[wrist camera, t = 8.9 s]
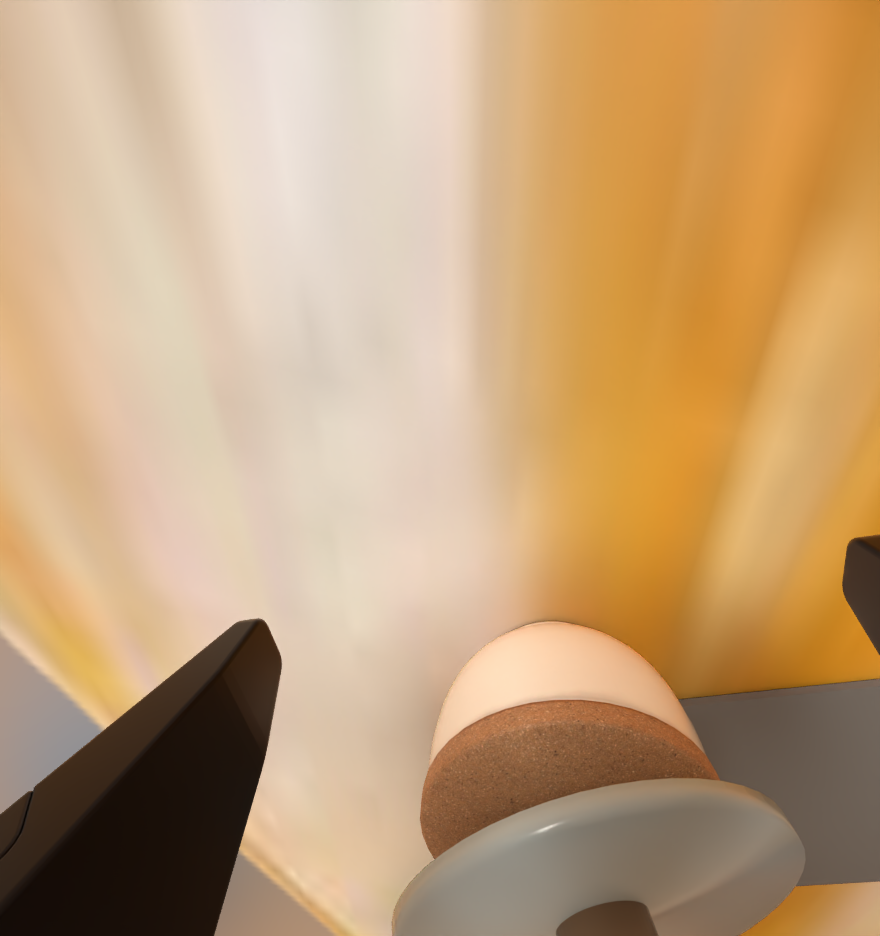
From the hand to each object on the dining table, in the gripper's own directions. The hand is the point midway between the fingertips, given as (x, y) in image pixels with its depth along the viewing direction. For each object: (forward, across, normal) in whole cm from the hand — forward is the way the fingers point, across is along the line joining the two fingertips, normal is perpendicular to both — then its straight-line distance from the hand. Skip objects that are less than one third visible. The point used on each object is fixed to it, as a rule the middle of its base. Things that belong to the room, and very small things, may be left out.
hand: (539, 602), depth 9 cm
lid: (+3, 0, +15) cm, 15 cm away
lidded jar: (+13, 0, +15) cm, 20 cm away
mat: (+13, -10, +26) cm, 31 cm away
